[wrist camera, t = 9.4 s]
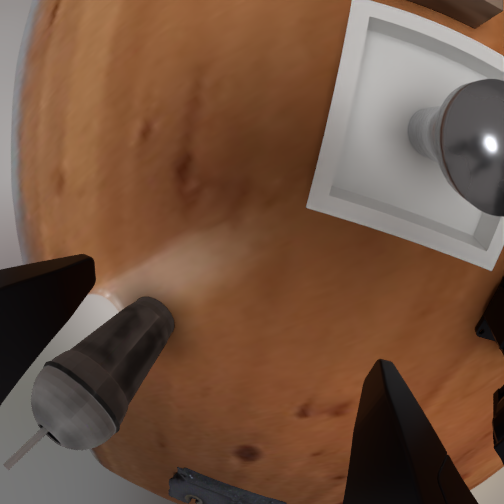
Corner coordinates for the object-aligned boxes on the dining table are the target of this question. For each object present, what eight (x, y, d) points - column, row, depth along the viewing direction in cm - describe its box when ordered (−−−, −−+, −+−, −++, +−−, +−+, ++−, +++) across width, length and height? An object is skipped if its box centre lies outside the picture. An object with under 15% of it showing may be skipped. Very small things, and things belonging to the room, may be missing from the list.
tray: (519, 86, 12) (545, 84, 9) (473, 248, 17) (491, 271, 14) (352, 16, 14) (352, -4, 11) (312, 192, 19) (305, 207, 16)
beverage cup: (194, 352, 28) (78, 526, 11) (134, 339, 31) (16, 476, 13) (179, 287, 26) (11, 475, 8) (115, 279, 28) (-40, 417, 10)
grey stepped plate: (270, 517, 47) (264, 534, 43) (174, 483, 51) (165, 499, 46) (294, 501, 40) (288, 522, 36) (175, 460, 44) (164, 480, 39)
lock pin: (470, 113, 13) (560, 117, 5) (452, 180, 15) (528, 234, 7) (404, 85, 14) (459, 55, 6) (387, 155, 16) (428, 189, 8)
